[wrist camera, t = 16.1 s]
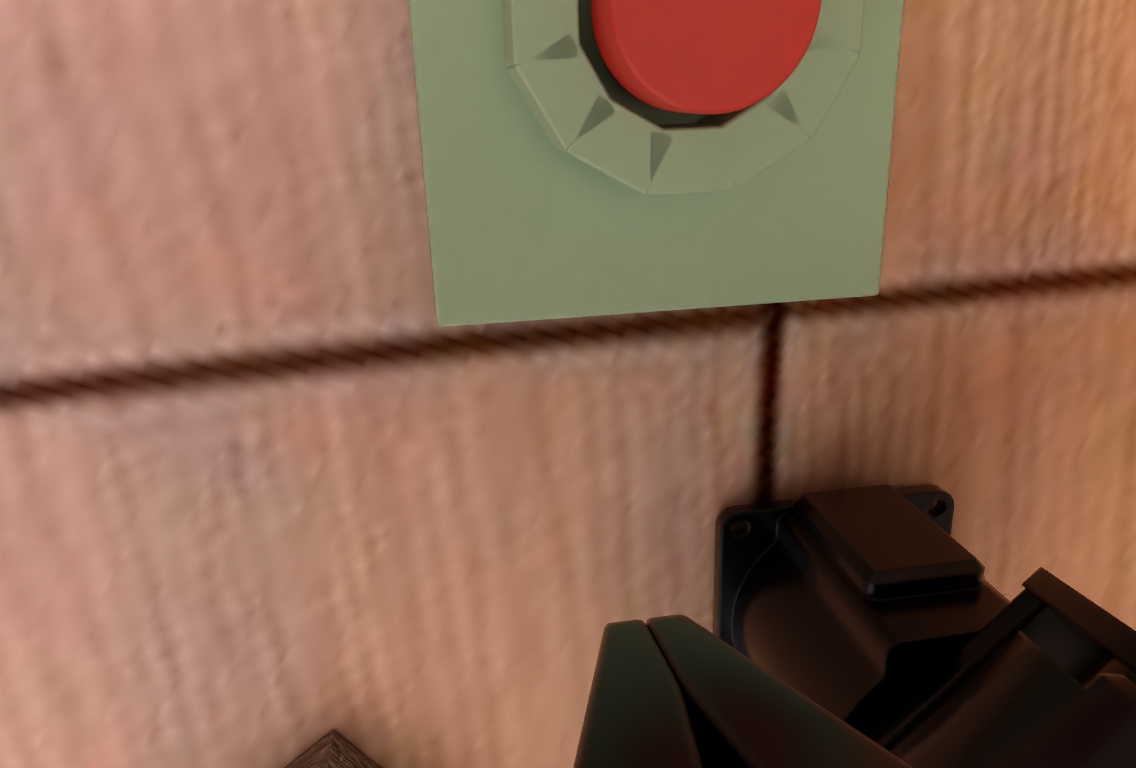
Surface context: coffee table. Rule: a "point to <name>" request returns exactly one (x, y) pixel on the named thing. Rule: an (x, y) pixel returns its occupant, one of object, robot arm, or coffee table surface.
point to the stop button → (703, 49)
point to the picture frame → (332, 755)
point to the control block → (644, 170)
